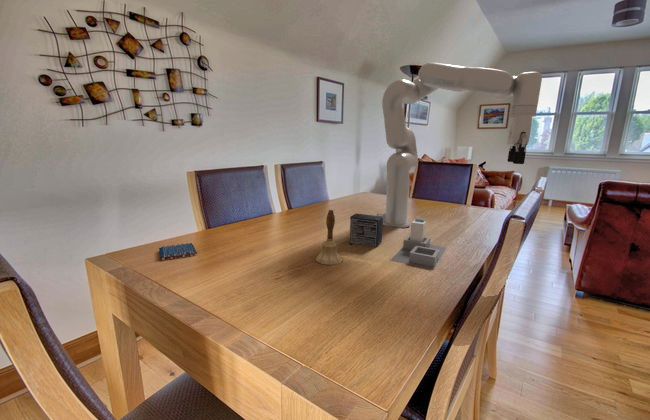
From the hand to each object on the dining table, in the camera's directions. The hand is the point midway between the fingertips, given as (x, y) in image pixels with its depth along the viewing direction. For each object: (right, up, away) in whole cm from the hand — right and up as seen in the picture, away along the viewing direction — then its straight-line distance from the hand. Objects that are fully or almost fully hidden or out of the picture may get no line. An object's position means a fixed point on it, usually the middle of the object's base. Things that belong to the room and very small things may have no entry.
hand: (515, 162), depth 111 cm
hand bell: (-66, -32, -12) cm, 74 cm away
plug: (-35, -29, -2) cm, 46 cm away
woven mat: (-114, -31, -9) cm, 119 cm away
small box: (-52, -29, +3) cm, 60 cm away
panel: (-36, -32, -8) cm, 48 cm away
